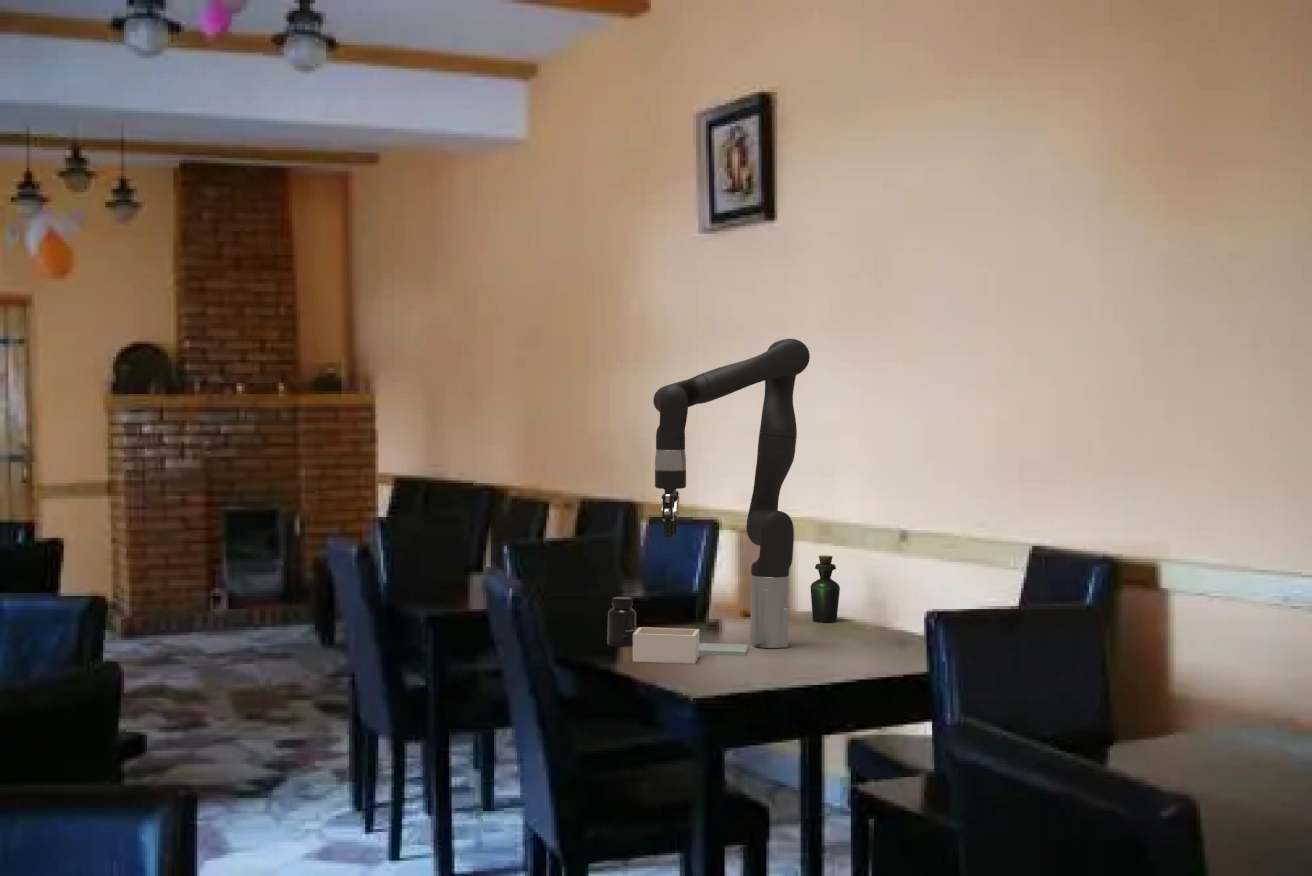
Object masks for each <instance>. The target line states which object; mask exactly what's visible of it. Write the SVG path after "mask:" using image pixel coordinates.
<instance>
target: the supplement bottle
mask: <svg viewBox="0 0 1312 876" xmlns="http://www.w3.org/2000/svg"><path fill="white" fill-rule="evenodd" d="M611 606H612V608H610V609H609V610H608V612H607V639H606V640H607V643H606V644H607V646H611V647H622V648H623V647H625V648H627V647H633V633H634V632H635V631H636V630H637V612H636V610H635V609H633V608H632V606H633V597H628V596H627V597H626V596H616V597H615V596H614V597H612V602H611Z"/></svg>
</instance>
